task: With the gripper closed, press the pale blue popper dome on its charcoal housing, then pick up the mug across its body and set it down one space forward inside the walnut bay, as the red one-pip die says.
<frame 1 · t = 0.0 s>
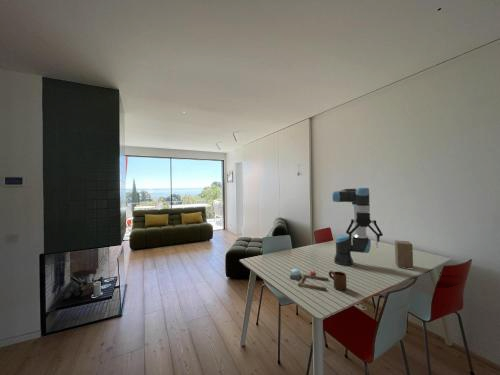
hand: (364, 245, 128), 28 cm above the table, fingers open, 13 cm apart
die: (312, 276, 150), on the table
dome: (295, 272, 148), point 4 cm above the table, slide at 0.0 cm
wooden block: (404, 266, 165), on the table
bay: (314, 283, 138), on the table
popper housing: (295, 277, 148), on the table
mug: (337, 287, 132), on the table
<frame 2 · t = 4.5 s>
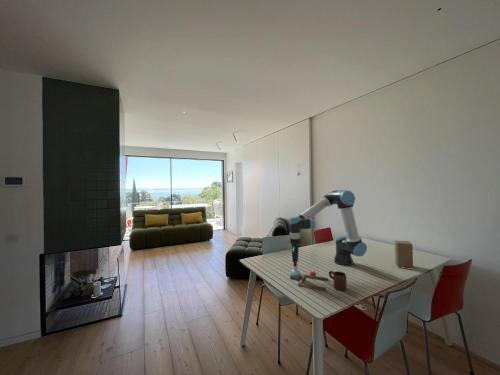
hand: (295, 270, 148), 5 cm above the table, fingers closed
dome: (295, 272, 148), point 3 cm above the table, slide at 0.1 cm, touching gripper, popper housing
everything else where it was.
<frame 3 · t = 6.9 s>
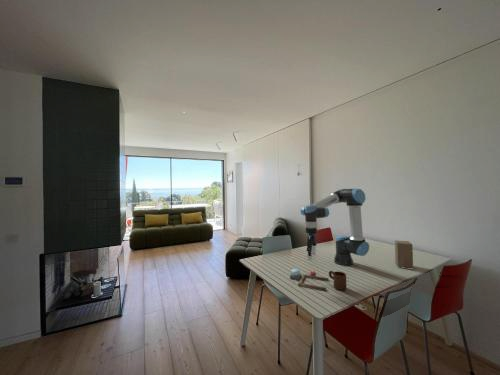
hand: (311, 257, 142), 16 cm above the table, fingers open, 13 cm apart
dome: (295, 272, 148), point 3 cm above the table, slide at 0.1 cm, touching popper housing
everything else where it was.
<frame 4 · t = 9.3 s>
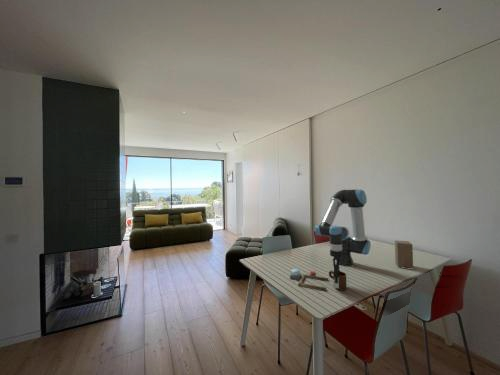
hand: (336, 284, 132), 2 cm above the table, fingers open, 9 cm apart
mug: (337, 287, 133), on the table, touching gripper
everything else where it was.
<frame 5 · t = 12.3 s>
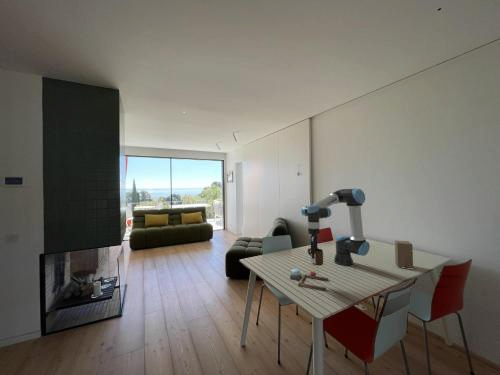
hand: (314, 260, 139), 15 cm above the table, fingers closed on mug, 8 cm apart
mug: (314, 263, 140), point 13 cm above the table, touching gripper
everything else where it was.
when the fingers open (3 cm above the table, at t = 14.9 s): mug drops 1 cm, on the table.
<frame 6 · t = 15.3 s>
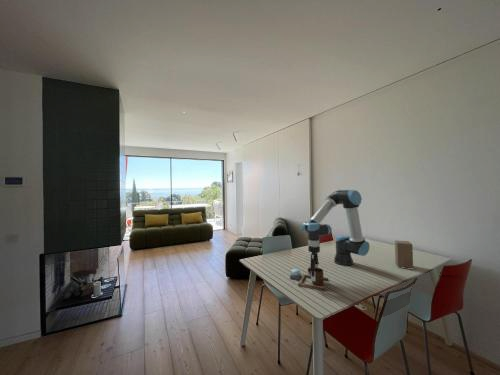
hand: (314, 277, 139), 4 cm above the table, fingers open, 12 cm apart
mug: (315, 282, 139), on the table
everything else where it was.
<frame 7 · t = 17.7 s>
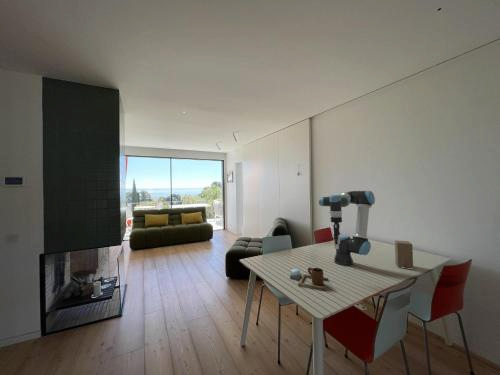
hand: (337, 246, 145), 23 cm above the table, fingers open, 13 cm apart
nothing on the table moved.
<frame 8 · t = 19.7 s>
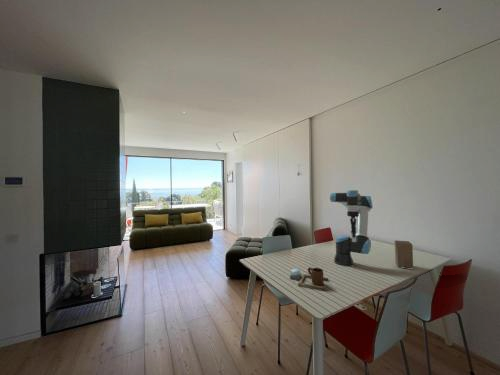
hand: (353, 239, 149), 27 cm above the table, fingers open, 13 cm apart
nothing on the table moved.
at the end: mug inside the target area (1.0 cm from its centre), on the table; mug tilted 0°; the gripper is holding nothing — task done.
